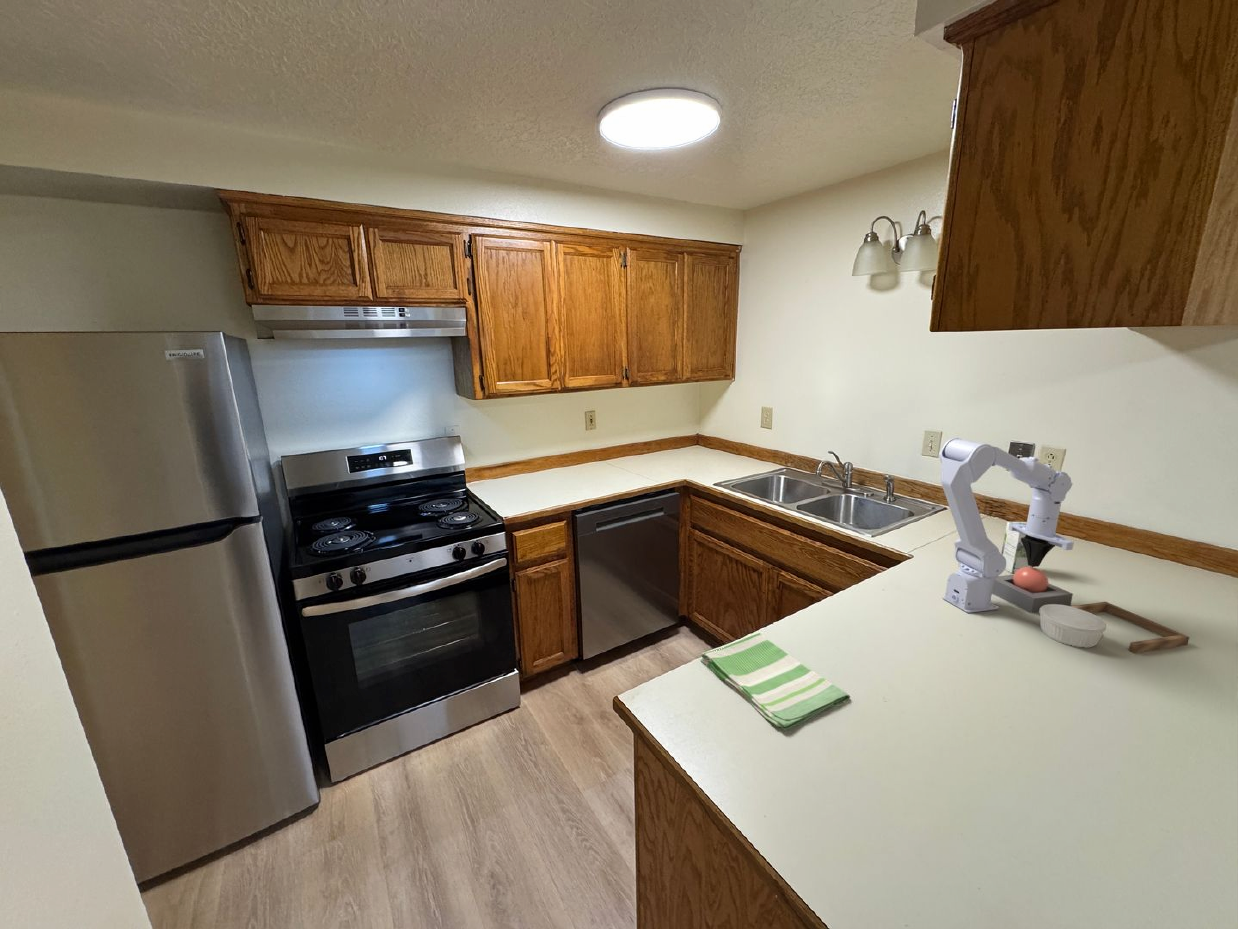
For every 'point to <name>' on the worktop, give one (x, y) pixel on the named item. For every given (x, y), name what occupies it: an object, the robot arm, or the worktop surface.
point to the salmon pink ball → (1030, 579)
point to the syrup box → (1014, 550)
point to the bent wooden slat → (1169, 635)
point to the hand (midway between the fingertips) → (1033, 565)
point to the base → (1029, 595)
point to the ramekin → (1071, 625)
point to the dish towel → (773, 680)
